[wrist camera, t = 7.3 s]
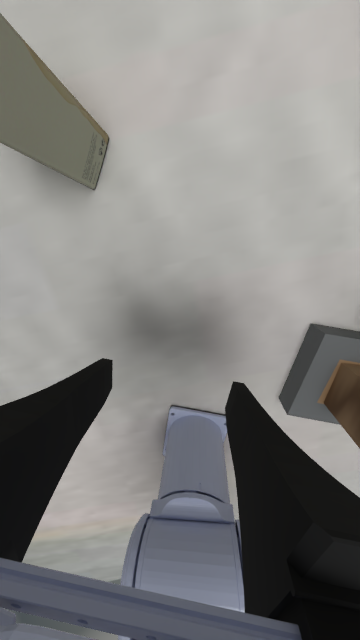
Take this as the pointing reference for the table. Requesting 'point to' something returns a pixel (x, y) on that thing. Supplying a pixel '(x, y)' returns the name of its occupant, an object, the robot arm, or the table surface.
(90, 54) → the table surface
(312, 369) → the charcoal block
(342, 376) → the walnut cube
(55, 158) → the skincare box
